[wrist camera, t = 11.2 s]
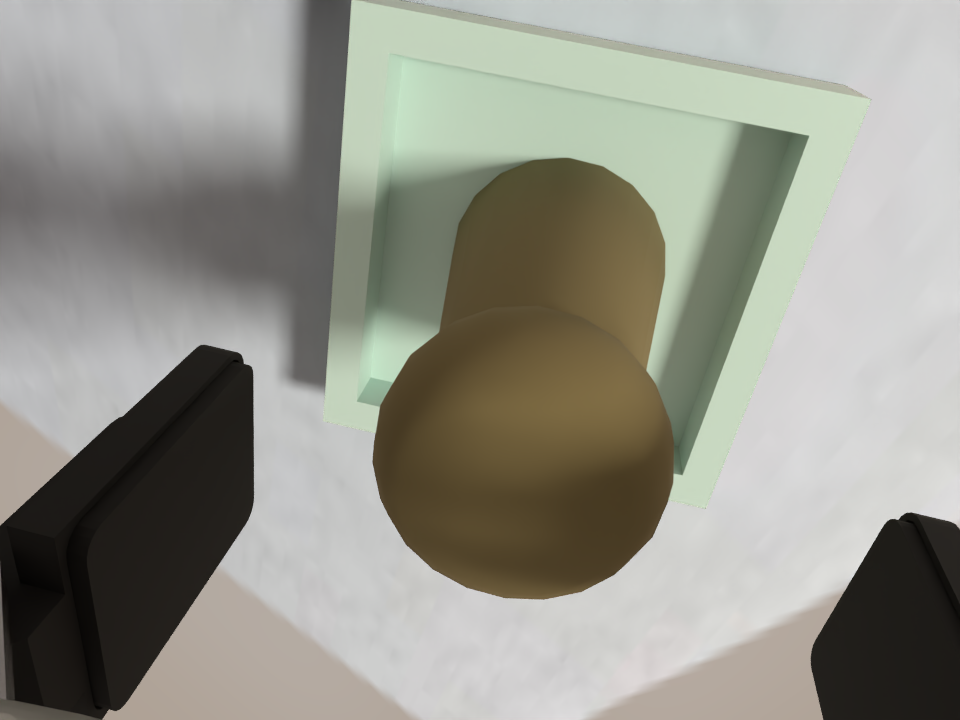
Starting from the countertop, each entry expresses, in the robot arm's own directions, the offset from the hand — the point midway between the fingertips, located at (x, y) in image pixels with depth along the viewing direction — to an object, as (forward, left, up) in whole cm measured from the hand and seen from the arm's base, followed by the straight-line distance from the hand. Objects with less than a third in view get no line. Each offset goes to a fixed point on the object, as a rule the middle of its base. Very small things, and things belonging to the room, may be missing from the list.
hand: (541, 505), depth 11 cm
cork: (0, +1, -12) cm, 11 cm away
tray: (0, +1, -12) cm, 12 cm away
